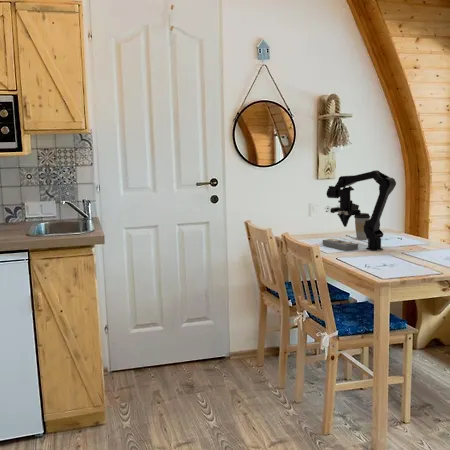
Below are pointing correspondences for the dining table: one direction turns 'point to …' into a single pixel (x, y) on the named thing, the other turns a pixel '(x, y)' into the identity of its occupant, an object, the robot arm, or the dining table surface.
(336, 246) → the rocker switch box
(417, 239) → the dining table surface
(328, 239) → the rocker far
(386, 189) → the robot arm
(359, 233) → the coffee cup
